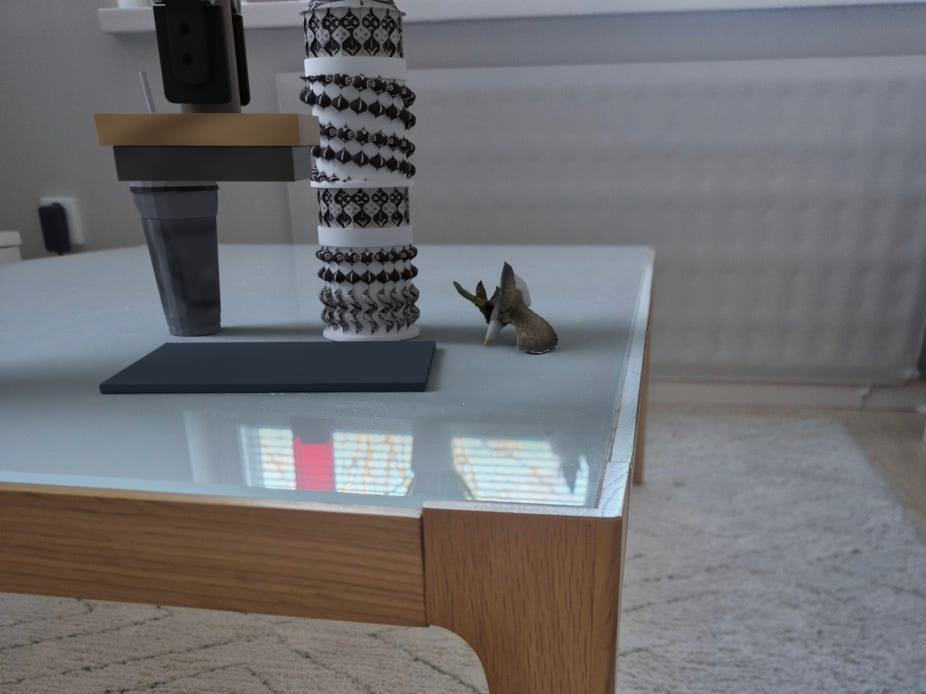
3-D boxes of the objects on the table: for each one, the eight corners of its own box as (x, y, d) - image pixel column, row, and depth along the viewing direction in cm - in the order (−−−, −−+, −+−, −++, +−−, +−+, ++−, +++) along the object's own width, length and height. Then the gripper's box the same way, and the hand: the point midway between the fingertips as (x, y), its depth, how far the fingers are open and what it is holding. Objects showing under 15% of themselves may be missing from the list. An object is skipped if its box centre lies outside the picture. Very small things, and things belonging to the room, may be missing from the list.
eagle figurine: (432, 326, 79) (481, 321, 71) (467, 247, 78) (520, 233, 70) (504, 370, 82) (557, 369, 75) (537, 294, 82) (594, 286, 74)
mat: (100, 393, 63) (98, 384, 63) (167, 350, 77) (165, 342, 76) (425, 391, 63) (424, 382, 63) (436, 347, 76) (435, 340, 76)
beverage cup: (243, 334, 82) (210, 68, 73) (156, 341, 80) (111, 67, 71) (230, 322, 88) (199, 74, 79) (150, 327, 86) (107, 73, 77)
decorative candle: (303, 342, 79) (270, -18, 67) (337, 323, 87) (313, -1, 75) (409, 345, 78) (393, -23, 66) (433, 326, 86) (424, -5, 74)
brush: (104, 181, 47) (67, -39, 43) (144, 177, 52) (114, -19, 48) (303, 182, 47) (285, -39, 43) (323, 177, 52) (309, -19, 48)
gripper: (130, -317, 47) (184, 109, 55) (-37, -522, 32) (72, 98, 41) (281, -318, 46) (312, 109, 55) (181, -524, 32) (244, 98, 41)
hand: (209, 100), depth 48 cm, fingers closed on brush, 3 cm apart
